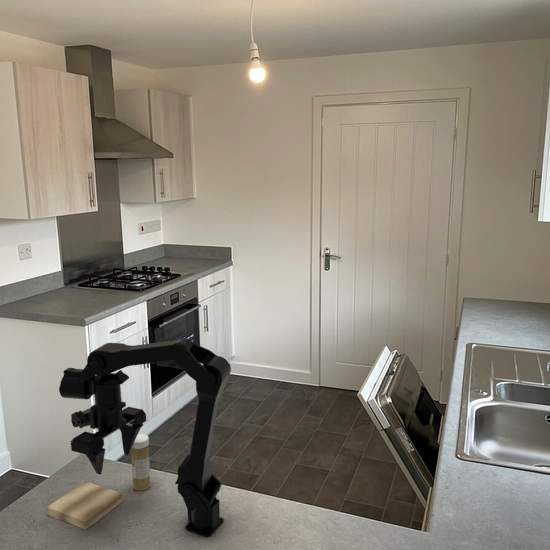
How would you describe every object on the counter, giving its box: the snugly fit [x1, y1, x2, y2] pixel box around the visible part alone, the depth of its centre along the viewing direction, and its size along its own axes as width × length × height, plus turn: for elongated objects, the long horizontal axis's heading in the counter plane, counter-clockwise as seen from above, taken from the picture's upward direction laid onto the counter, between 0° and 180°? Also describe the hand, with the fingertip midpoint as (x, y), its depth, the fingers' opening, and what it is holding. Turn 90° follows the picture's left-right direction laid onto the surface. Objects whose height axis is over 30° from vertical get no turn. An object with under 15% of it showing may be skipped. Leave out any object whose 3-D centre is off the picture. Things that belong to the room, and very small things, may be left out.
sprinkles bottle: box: [130, 433, 151, 491], centre depth 137 cm, size 5×5×14 cm
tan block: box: [46, 481, 124, 530], centre depth 129 cm, size 12×12×2 cm
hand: (113, 463), depth 125 cm, fingers open, 9 cm apart
